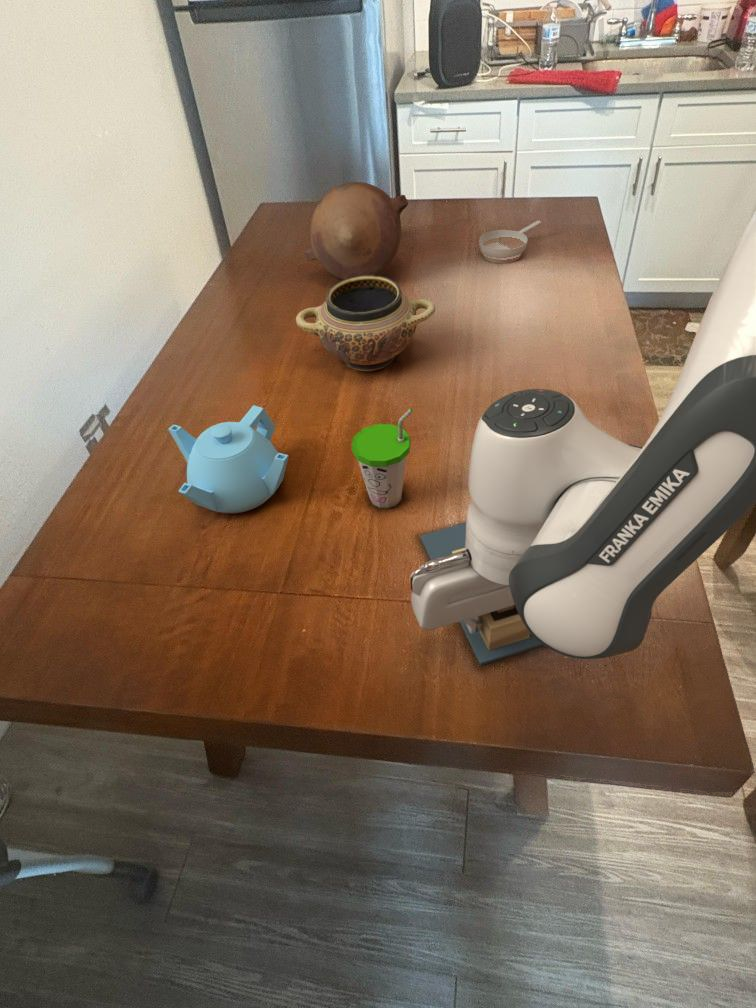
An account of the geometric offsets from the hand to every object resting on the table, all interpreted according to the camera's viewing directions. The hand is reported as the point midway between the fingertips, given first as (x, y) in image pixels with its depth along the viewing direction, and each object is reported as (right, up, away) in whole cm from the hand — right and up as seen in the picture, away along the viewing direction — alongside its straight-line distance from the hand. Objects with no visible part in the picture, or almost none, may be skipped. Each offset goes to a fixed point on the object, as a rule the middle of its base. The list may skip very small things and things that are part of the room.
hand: (500, 619), depth 69 cm
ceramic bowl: (-15, +40, +44) cm, 61 cm away
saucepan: (+17, +72, +72) cm, 103 cm away
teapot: (-35, +16, +22) cm, 44 cm away
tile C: (0, -1, +1) cm, 2 cm away
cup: (-13, +14, +18) cm, 26 cm away
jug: (-17, +68, +71) cm, 100 cm away
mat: (-2, +3, +6) cm, 7 cm away
